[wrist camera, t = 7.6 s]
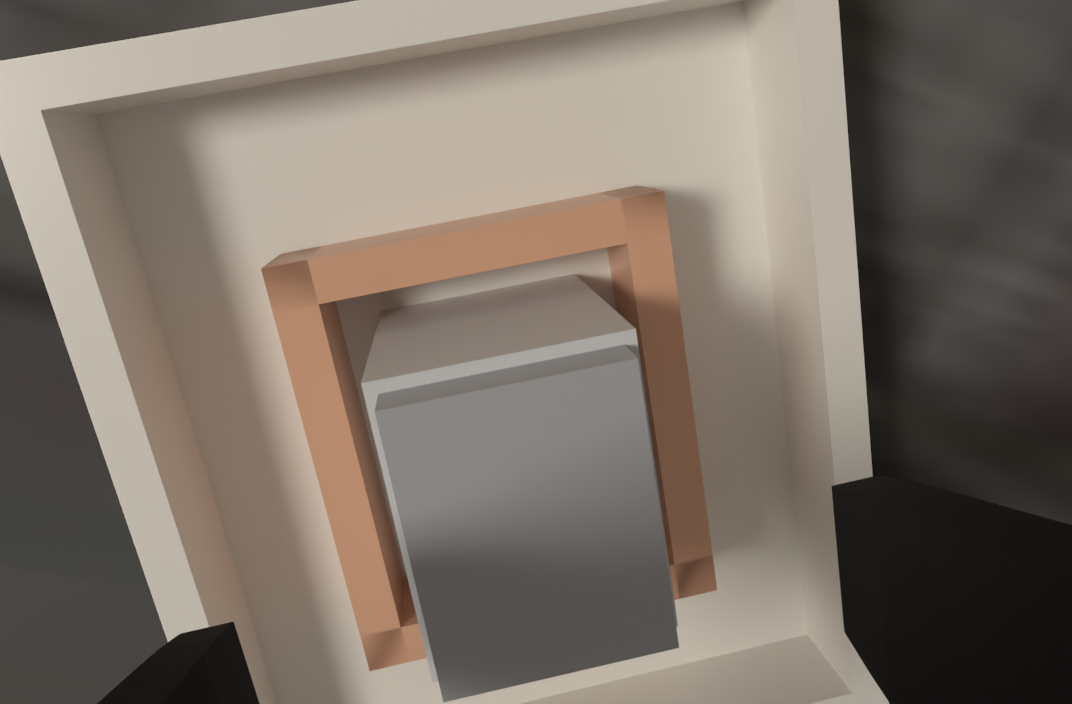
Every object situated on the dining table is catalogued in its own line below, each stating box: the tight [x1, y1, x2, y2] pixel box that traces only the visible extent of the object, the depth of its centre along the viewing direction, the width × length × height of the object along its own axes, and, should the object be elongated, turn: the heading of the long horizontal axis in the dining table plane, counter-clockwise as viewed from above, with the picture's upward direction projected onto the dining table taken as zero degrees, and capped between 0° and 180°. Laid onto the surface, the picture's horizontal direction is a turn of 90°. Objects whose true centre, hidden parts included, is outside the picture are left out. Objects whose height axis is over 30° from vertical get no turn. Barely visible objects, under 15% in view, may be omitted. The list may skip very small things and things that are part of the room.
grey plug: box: [361, 274, 679, 703], centre depth 14 cm, size 5×4×6 cm
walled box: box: [0, 0, 889, 704], centre depth 17 cm, size 16×14×3 cm
